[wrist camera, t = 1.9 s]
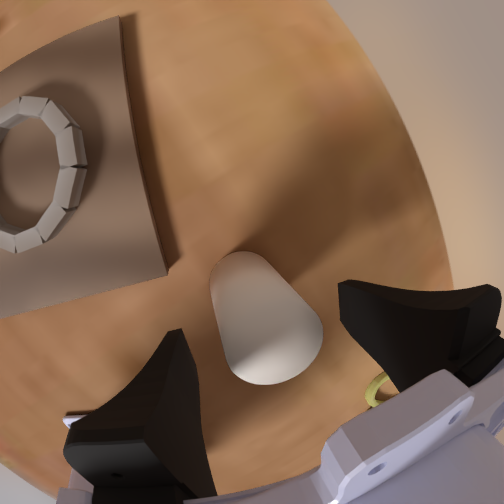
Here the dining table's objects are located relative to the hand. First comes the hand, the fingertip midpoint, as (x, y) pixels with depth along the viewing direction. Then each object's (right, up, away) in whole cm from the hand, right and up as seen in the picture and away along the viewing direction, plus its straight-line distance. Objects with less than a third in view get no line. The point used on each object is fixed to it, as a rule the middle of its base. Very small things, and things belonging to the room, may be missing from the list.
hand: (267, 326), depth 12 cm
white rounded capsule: (-1, +1, +5) cm, 6 cm away
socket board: (-14, +8, 0) cm, 16 cm away
